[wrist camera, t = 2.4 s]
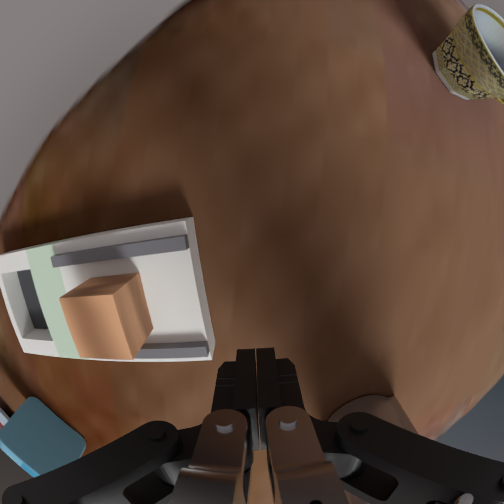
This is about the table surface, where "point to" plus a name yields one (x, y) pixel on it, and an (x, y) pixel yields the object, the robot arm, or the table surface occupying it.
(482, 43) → the ceramic cup
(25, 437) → the blue square slab
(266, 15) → the table surface
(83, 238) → the tray
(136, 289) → the terracotta cube
